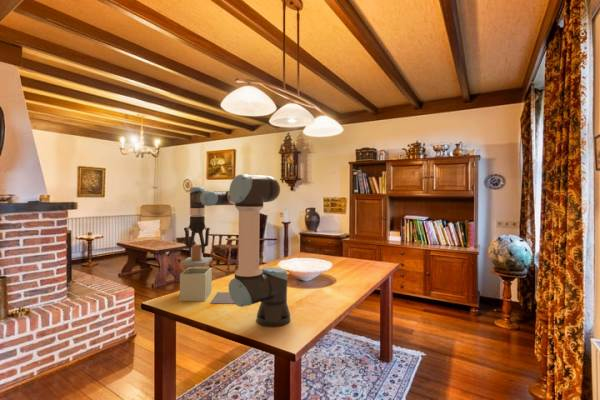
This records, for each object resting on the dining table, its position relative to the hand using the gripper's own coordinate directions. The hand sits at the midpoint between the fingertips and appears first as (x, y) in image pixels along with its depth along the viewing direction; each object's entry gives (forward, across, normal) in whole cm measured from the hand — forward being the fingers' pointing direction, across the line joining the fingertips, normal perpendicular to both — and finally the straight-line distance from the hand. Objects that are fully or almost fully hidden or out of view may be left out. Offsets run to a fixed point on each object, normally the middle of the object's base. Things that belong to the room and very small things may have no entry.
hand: (196, 259), depth 159 cm
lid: (+2, 0, 0) cm, 2 cm away
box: (+20, 0, 0) cm, 20 cm away
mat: (+21, -18, +2) cm, 27 cm away
